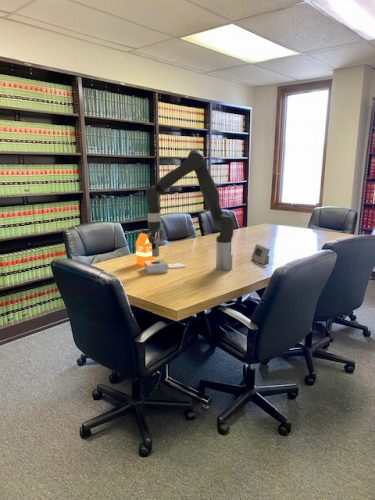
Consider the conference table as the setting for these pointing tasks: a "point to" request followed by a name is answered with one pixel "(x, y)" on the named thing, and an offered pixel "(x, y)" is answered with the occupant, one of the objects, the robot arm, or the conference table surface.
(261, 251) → the digital clock
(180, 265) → the pad
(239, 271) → the conference table surface
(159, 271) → the block
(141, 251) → the orange juice
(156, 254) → the key
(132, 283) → the conference table surface
